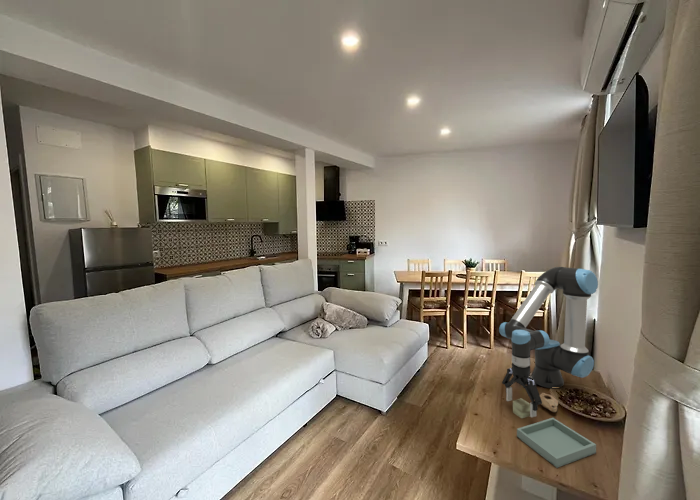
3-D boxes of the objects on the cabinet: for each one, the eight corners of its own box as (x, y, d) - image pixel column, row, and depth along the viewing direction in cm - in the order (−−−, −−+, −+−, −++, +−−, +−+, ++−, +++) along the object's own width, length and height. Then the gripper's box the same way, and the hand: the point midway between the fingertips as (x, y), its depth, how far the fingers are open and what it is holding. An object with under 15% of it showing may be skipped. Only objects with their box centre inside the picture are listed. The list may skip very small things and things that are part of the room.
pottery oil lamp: (544, 415, 143) (537, 399, 145) (540, 409, 153) (533, 394, 156) (565, 410, 140) (557, 394, 143) (558, 405, 151) (551, 390, 154)
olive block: (521, 410, 148) (521, 398, 148) (530, 416, 143) (530, 403, 143) (513, 412, 147) (512, 400, 146) (521, 418, 142) (521, 406, 141)
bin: (552, 425, 136) (552, 417, 136) (596, 453, 119) (596, 444, 119) (516, 436, 130) (516, 428, 130) (556, 467, 113) (556, 458, 113)
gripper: (494, 355, 154) (494, 396, 155) (538, 377, 130) (538, 425, 132) (506, 352, 156) (506, 393, 158) (551, 374, 132) (551, 421, 134)
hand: (520, 408), depth 145 cm, fingers open, 13 cm apart
